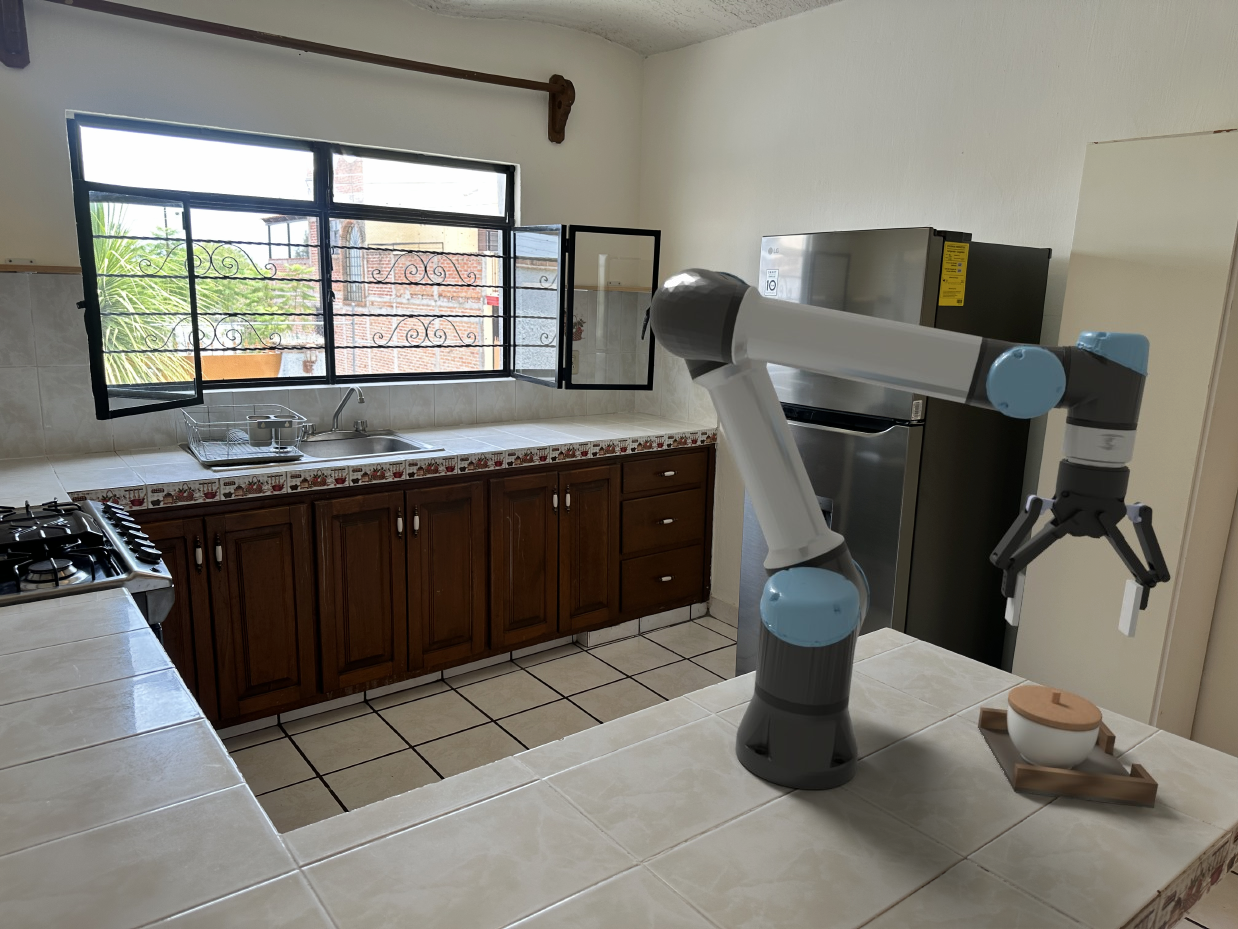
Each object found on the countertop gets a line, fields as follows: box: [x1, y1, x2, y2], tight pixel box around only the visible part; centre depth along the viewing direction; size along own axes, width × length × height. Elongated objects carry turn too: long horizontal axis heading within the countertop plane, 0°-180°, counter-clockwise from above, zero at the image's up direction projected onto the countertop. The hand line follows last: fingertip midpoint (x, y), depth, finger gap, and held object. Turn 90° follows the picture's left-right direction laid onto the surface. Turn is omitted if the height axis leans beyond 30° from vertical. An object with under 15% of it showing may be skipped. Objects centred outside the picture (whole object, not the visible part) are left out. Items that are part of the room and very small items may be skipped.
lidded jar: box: [1006, 684, 1103, 770], centre depth 108 cm, size 11×11×9 cm
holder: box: [977, 706, 1159, 809], centre depth 108 cm, size 16×16×3 cm
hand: (1068, 627), depth 105 cm, fingers open, 13 cm apart
